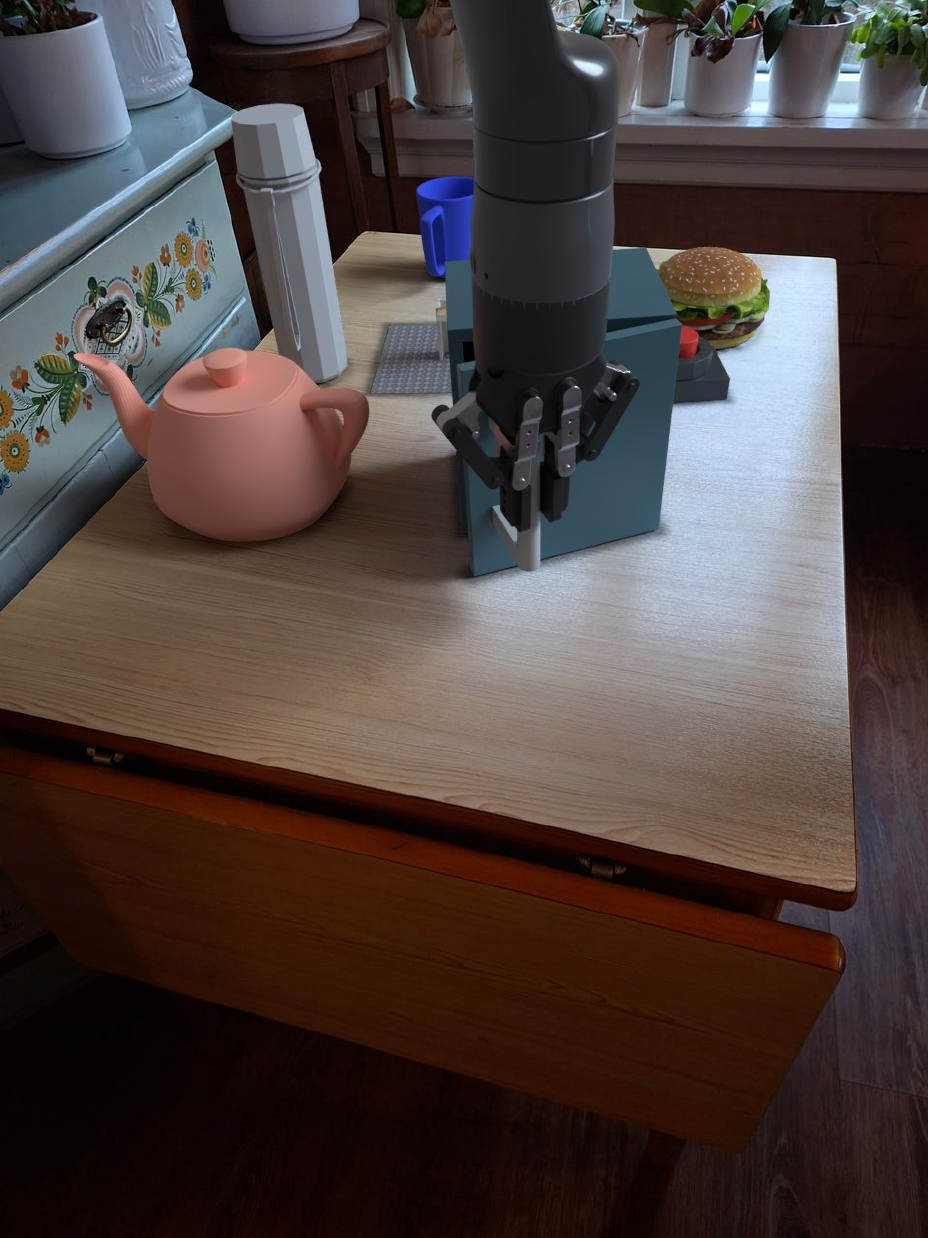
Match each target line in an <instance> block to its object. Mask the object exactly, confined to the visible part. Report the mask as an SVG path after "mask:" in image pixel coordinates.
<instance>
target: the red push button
mask: <svg viewBox="0 0 928 1238" xmlns="http://www.w3.org/2000/svg"><path fill="white" fill-rule="evenodd" d="M697 344H698V333H697V332H696V331H695V330H693V329H691V328H688V327H682V331H681V339H680V348H679V357H678V358H688V357H691V356H693V355H695V354H696V351H697Z"/></svg>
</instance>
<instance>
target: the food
mask: <svg viewBox="0 0 928 1238" xmlns="http://www.w3.org/2000/svg"><path fill="white" fill-rule="evenodd" d="M656 270H657V272H658V274H659V277H660V279H661V281H662V283H663V285H664V287H665V290H666V292H667V294H668V296H669V298H670V301H671V303H672V305H673V307H674V309H675V311H676V314H677V318H676V319H677V320H678V321H679V322H680V323H681V324H682V327H688V328H691V329H693V330H695V331H696V332H697V333H698V336H700V337H701V338H703V339H705V340H707V341H709V342H710V344H711V346H712V345H713V346H714V348H715V350H716V349H725V348H730V347H734V346H735V347H736V346H738V345H740V344H742V343H744V342H745V341H748V340H749V339H751V338H753V337H754V335H755V333H756V332H757V330H758V328H759V327H760V326H761V325H762V324H763V322H764V321H765V316H766V314H767V312H768V311H769V309H770V297H771V291H770V289H769V287H768V286H767V283H768V278H767V279H763V277H762V270H761V269H760V267H759V266H758V265H757V264H756V263H755V262H754V261H753V259H751V258H750V257H748V256H747V255H745V254H744V253H741V252H738V251H735V250H732V249H730V248H725V247H717V246H715V247H713V246H704V247H699V246H698V247H694V248H689V249H687V250H683V251H680V252H677V253H675V254H674V255H672V256H671V257H669V258H668V259H667V260H664V261H662V262H661V263H659V265H658V268H656Z"/></svg>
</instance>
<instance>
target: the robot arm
mask: <svg viewBox="0 0 928 1238" xmlns="http://www.w3.org/2000/svg"><path fill="white" fill-rule="evenodd" d="M448 1H449V4H450V8H451V12H452V16H453V21H454V24H455V29H456V33H457V37H458V42H459V46H460V49H461V53H462V58H463V61H464V65H465V70H466V74H467V77H468V78H467V79H468V83H469V89H470V95H471V108H472V109H471V110H472V111H471V116H472V117H471V118H472V119H471V120H472V121H471V124H472V125H471V126H472V153H473V154H472V160H473V161H472V162H473V163H472V165H473V179H474V193H473V203H472V212H471V223H470V240H471V248H470V253H469V264H470V269H471V272H472V273H471V276H472V309H473V343H474V352H475V367H474V370H473V373H472V375H471V377H470V379H469V383H468V391H469V393H468V394H466V395H465V396H464V397H463V398H462V399H460V400H459V401H458V402H457V403H456V404H454V405H453V404H452V406H451V407H449V406H448V405H447V404H439V405H437V406H435V407H434V408H433V409H432V411H431V414H430V415H431V417H430V418H431V420H432V422H434V424H435V425H436V426H437V428H438V429H439V430H440V432H441V433H442V434H443V436H444V437H445V438H446V440H447V441H448V442H449V443H450V444H451V446H452V447H453V448H454V449H455V451H456V450H457V451H458V453H459V454H460V455H461V456H462V457H463V459H464V460H465V461H466V462H467V463H468V465H469V466H470V467H471V468H472V469H473V471H474V472H475V473H476V474H477V475H478V477H479V478H480V479H481V480H482V481H483V482H484V484H485V485H486V486H487V487H488V488H489V489H492V490H494V489H497V488H499V487H500V511H501V513H502V515H503V516H504V517H505V519H506V520H507V521H508V523H509V524H510V525H511V527H513V526H514V527H515V528H516V529H517V531H518V532H523V531H526V530H530V528H531V491H532V487H531V486H530V485H529V482H530V473H531V462H532V458H535V457H536V451H537V440H538V435H540V434H541V453H542V455H543V457H544V461H542V462H540V512H541V513H542V514H543V515H544V516H545V518H546V519H547V520H548V521H549V522H550V523H552V522H556V521H559V520H561V517H562V511H565V510H566V508H567V506H568V502H569V497H568V496H569V485H570V475H571V474H572V473H573V471H574V470H575V465H576V464H578V463H579V462H581V461H582V460H584V459H585V460H586V461H588V462H591V461H594V460H595V459H596V458H597V457H598V456H599V455H600V453H601V451H602V450H603V448H604V446H605V444H606V443H607V441H608V439H609V438H610V436H611V434H612V433H613V431H614V429H615V428H616V426H617V424H618V423H619V421H620V419H621V417H622V416H623V414H624V412H625V411H626V409H627V407H628V406H629V404H630V402H631V401H632V399H633V397H634V396H635V394H636V392H637V390H638V389H639V386H640V381H639V379H637V378H636V377H635V376H634V375H633V374H632V373H631V372H630V371H629V370H628V369H627V368H626V367H625V366H623V365H622V364H620V363H619V362H618V361H617V360H611V361H609V362H606V358H605V356H604V354H603V352H602V350H603V348H604V345H605V341H606V329H607V316H608V304H609V292H610V280H611V268H612V256H613V250H614V243H615V242H614V241H615V228H616V227H615V226H616V218H615V217H616V216H615V215H616V214H615V198H614V186H615V185H614V181H615V179H614V177H615V176H614V175H615V167H616V166H615V165H616V151H617V141H618V140H617V139H618V128H619V127H618V126H619V117H620V103H621V73H620V72H621V71H620V64H619V60H618V57H617V55H616V53H615V52H614V51H613V48H611V46H610V45H608V44H607V43H606V42H604V41H603V40H601V39H599V38H598V37H595V36H593V35H589V34H586V33H580V32H575V31H570V30H560V29H559V28H558V26H557V22H556V19H555V15H554V11H553V7H552V3H551V0H448ZM482 410H483V411H484V412H485V413H486V414H487V415H488V416H489V417H490V418H491V419H492V420H493V421H494V423H495V436H496V439H497V457H488V456H487V454H486V453H485V452H484V451H483V449H482V448H481V447H480V446H479V444H478V443H477V442H476V441H475V439H477V438H478V437H479V430H480V424H479V422H478V415H479V413H480V412H481V411H482ZM594 422H595V426H594V428H593V430H592V431H591V433H590V435H589V436H588V435H587V434H588V432H589V431H590V429H591V427H592V425H593V424H594Z"/></svg>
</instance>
